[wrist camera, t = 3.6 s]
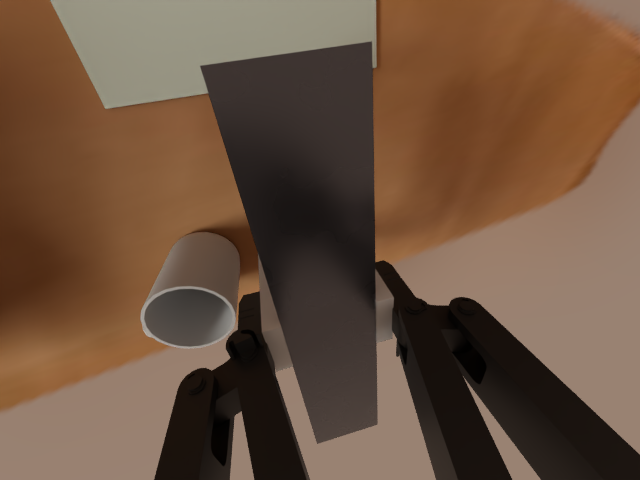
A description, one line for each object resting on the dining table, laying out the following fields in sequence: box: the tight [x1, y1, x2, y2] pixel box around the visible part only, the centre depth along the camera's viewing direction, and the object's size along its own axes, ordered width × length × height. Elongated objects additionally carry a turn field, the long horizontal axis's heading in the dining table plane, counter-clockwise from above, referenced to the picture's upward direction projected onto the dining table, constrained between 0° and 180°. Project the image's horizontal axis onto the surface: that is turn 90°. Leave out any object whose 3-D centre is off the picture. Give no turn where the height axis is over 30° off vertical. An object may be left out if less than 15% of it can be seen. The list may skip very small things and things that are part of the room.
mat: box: [50, 0, 377, 109], centre depth 20 cm, size 22×7×1 cm, turn 98°
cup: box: [140, 232, 240, 349], centre depth 26 cm, size 7×10×9 cm
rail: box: [200, 41, 377, 444], centre depth 14 cm, size 4×20×6 cm, turn 8°
